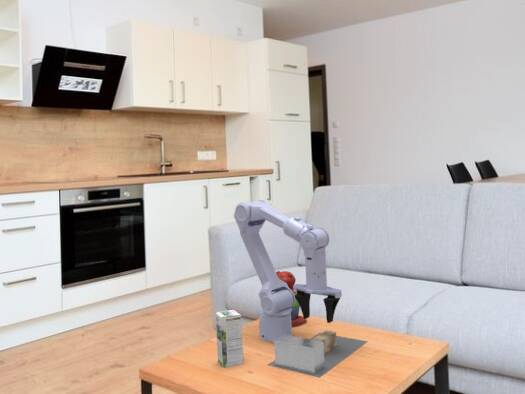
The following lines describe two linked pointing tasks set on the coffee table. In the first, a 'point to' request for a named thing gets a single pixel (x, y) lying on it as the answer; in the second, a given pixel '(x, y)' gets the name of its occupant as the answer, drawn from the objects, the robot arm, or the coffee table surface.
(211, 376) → the coffee table surface
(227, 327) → the syrup box
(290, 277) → the stacking bear
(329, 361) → the board
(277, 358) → the grey rectangular block
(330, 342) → the slat
